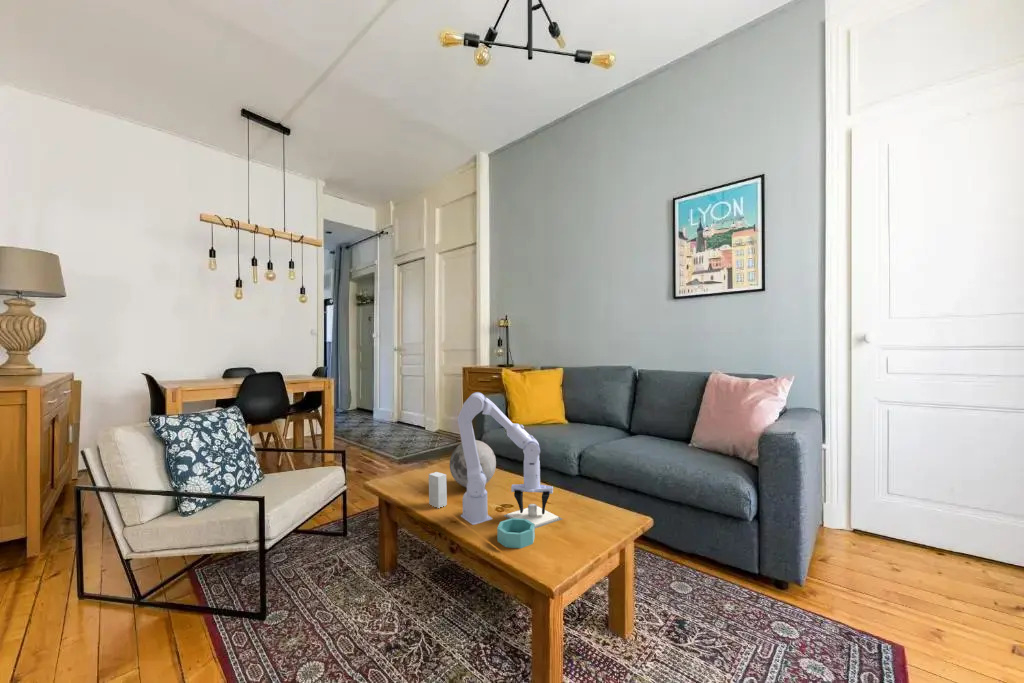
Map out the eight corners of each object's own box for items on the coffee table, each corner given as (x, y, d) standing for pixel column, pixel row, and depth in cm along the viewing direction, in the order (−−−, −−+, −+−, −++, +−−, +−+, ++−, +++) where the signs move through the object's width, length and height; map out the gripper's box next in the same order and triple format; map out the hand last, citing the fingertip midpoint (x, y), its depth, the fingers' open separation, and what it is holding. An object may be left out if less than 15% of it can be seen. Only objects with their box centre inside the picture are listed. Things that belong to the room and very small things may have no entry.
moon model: (486, 476, 192) (485, 433, 192) (503, 490, 173) (503, 442, 174) (444, 483, 183) (443, 438, 183) (458, 498, 165) (457, 448, 165)
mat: (503, 516, 147) (503, 515, 147) (536, 506, 155) (536, 505, 155) (528, 531, 135) (528, 530, 135) (562, 520, 143) (562, 518, 143)
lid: (506, 515, 147) (506, 504, 147) (535, 506, 154) (535, 495, 154) (528, 528, 136) (528, 516, 136) (558, 518, 143) (558, 506, 143)
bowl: (492, 538, 130) (491, 524, 130) (520, 529, 137) (520, 515, 137) (511, 552, 121) (511, 537, 121) (541, 542, 127) (540, 527, 127)
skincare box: (447, 505, 158) (446, 474, 158) (438, 509, 155) (437, 477, 155) (437, 501, 162) (436, 471, 162) (428, 505, 159) (428, 474, 159)
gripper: (509, 476, 143) (510, 515, 142) (551, 478, 140) (552, 518, 140) (513, 470, 149) (513, 507, 149) (553, 471, 147) (553, 510, 147)
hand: (532, 512), depth 145 cm, fingers open, 7 cm apart
